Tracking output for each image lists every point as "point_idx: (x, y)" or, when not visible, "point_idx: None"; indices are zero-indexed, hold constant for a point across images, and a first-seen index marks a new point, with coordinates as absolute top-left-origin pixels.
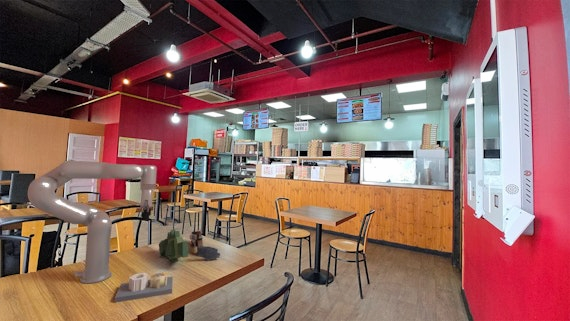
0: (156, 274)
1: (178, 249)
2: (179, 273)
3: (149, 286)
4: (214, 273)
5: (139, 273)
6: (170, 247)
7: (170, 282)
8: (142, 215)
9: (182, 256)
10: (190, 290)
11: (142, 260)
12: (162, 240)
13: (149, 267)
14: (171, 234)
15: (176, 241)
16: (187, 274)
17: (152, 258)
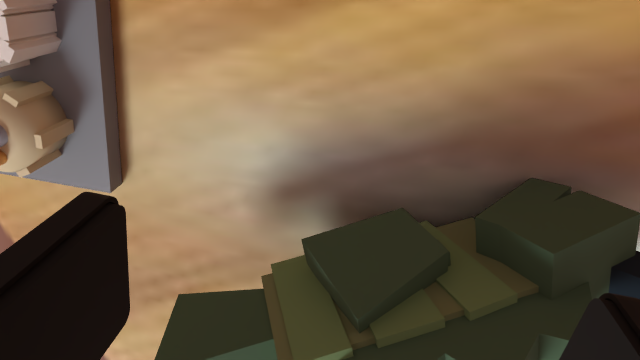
0: (17, 122)
1: (259, 308)
2: (198, 228)
3: (16, 72)
4: (146, 349)
5: (6, 26)
6: (326, 274)
7: (42, 172)
8: (5, 260)
9: (184, 297)
10: (5, 230)
11: (532, 58)
12: (551, 256)
13: (360, 94)
14: (470, 357)
15: (288, 342)
16: (173, 256)
17: (530, 127)
